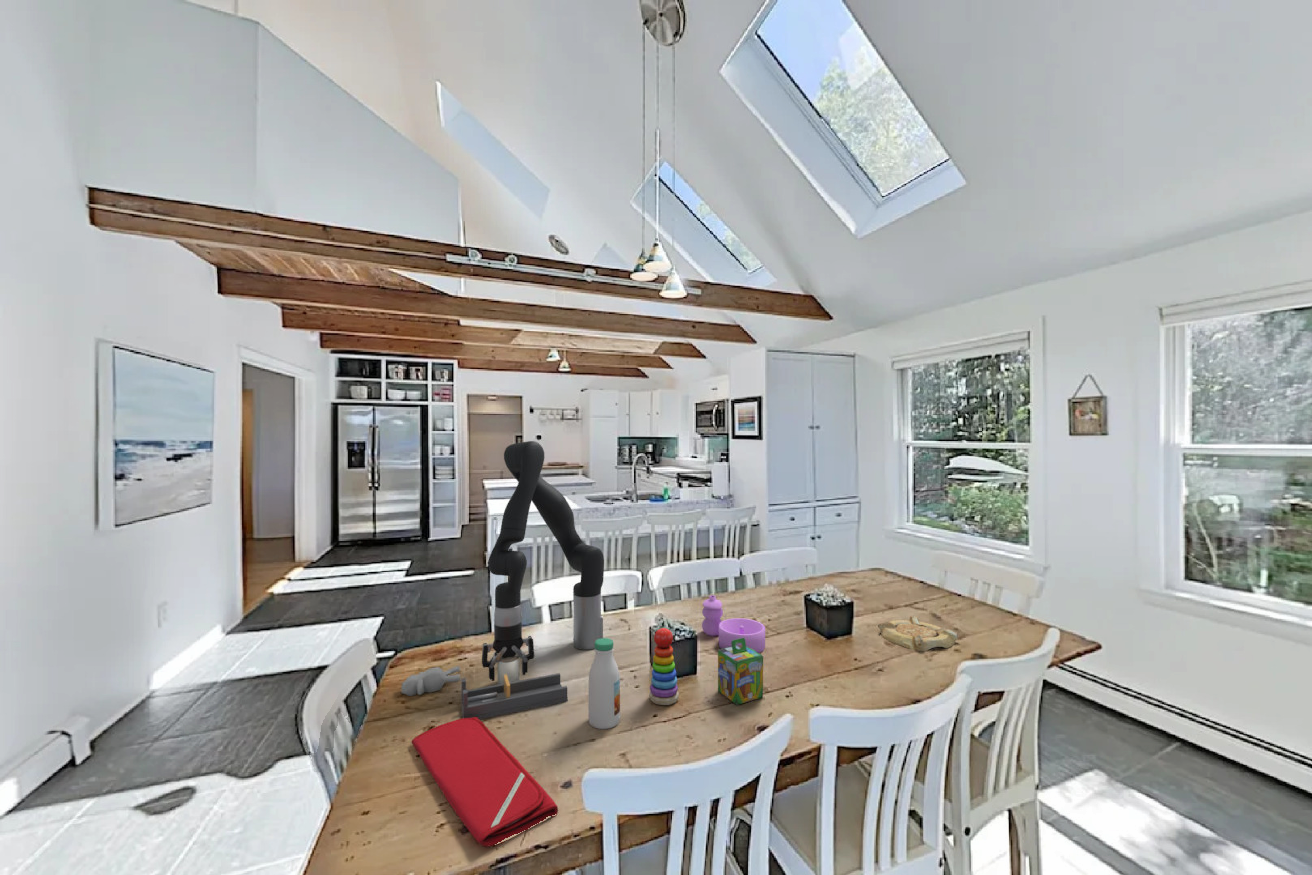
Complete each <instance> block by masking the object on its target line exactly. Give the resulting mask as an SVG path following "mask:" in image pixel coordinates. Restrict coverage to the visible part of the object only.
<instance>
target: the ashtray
mask: <svg viewBox="0 0 1312 875" xmlns="http://www.w3.org/2000/svg"><path fill="white" fill-rule="evenodd" d="M877 627H878V628H879V632H880V636H881V637H882V638H883V639H884V640H886V641H888V642H890V643H893V644H895V645H899V646H902V647H903V648H905V649H909V650H913V651H917V652H925V651H928V650H930V649H933V648H937V647H939V648H941V647H942V648H945V649H949V648H951V647H952V646H954V645H955V643H956V641H957V639H958V632H957V631H954V630H952V629H950V628H947V627H940V626H938V625H934V624H932V623H927V622H924V621H920V620H919V618H918V617H917V616H915V615H911V616H910V617H909V620H907V619H898V620H897V619H896V620H891V621H886V622H883V623H879V624H877Z"/></svg>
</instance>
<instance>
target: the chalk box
mask: <svg viewBox="0 0 1312 875" xmlns="http://www.w3.org/2000/svg"><path fill="white" fill-rule="evenodd" d="M737 643H741V644H742V645H737V646H736V644H737ZM731 644H732V647H728V648H723V649H721V648H720V649H718V650H717V691H718V692H719V693H720V694H722V695H723V696H724V697H726V698H727V699H728V700H730V702H732V703H734V704H735V705H736V706H738V705H741V704H745V703H748V702H751V701H755V700H758V699H759V700H760V699H763V697H764V656H763V654H760V653H757V652H756V651H755V650H753V649H751V648H748V647H746V643H745V638H740V639H736V640H732V642H731Z"/></svg>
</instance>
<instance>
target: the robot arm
mask: <svg viewBox="0 0 1312 875" xmlns="http://www.w3.org/2000/svg"><path fill="white" fill-rule="evenodd" d="M503 460H504V464H505V466H506V468H507V469H508V471H509V472H510V473H511V475H512V476H513V477H514V478H515V479H516V481H517V482H518V483H517V485H516V487H515V490H514V492H513V494H512V495H511V497H510V499H509V500H508V502H507V504H506V506H505V509H504V512H503V515H502V520H501V525H500V529H499V530H500V531H499V535H498V537H497V540H496V541H495V544H494V545H493V546H494V547H493V548H492V549H491V551H490V554H489V557H488V563H487V566H488V570H489V571H490V573H491V574H492V575H493V576H494V575H495V576H506V577H509V580H508V581H506V582H502V583H499V584H497V585H496V587H495V590H494V603H495V604H494V614H493V621H494V622H493V623H494V624H493V626H494V628H493V629H494V630H493V631H494V632H493V633H494V634H493V635H494V640H493V642H492V643H487V642H483V643H482V649H481V650H482V651H481V653H482V654H481V664H482V667H483V668H487V669H488V677H489V680H491V682H495V681H496V680H495V678H496V677H495V674H496V671H495V666H496V664H497V662H498V661H499V659H500V658H501V657H503V658H506V657H513V656H514V655H516V654H517V655H518V656H519V659H521V675H522V676H526V674H527V673H528V671H529V665H528V664H529V661H531V660H534V659H535V649H534V638H533V637H532V635H528V636H527V637H526V638H525V637H524V638H523V633H522V632H523V631H522V630H523V627H522V625H523V624H522V623H523V614H522V606H521V605H522V603H521V600H522V599H521V598H522V597H521V595H522V594H521V591H522V590H521V589H522V586H523V581H524V576H525V573H526V570H527V566H528V562H527V561H528V560H527V557H526V554H525V553H523V551H519V550H509V549H510V547H511V546H512V545H514V544H518V543H522V542H523V541H524V539H525V536H526V530H527V524H528V518H529V512H530V509H531V504H532V503H533V505H534V507H535V508H536V509H537V511H538V513H539V515H540V516H541V518H542V520H543V521H544V523H545V524H546V526H547V527H548V529H549V530H550V531H551V533H552V535H553V537H554V538H555V539H556V541H557V543H558V544H559V546H560V548H561V550H562V552H563V554H564V556H565V558H566V561H567V564H569V566H570V567H571V568H572V569H573V570H574V571H576V572H578V573H581V574H580V582H577V583H575V584H574V585H573V588H572V590H573V592H572V597H573V598H572V600H573V601H572V602H573V606H572V607H573V609H572V610H573V611H572V612H573V615H572V616H573V620H572V621H573V622H572V624H573V629H572V630H573V632H572V633H573V647H574V648H576V649H579V650H592V649H593V650H595V641H596V640H598V639H601V638H604V616H603V615H602V587H603V584H604V576H605V574H604V572H605V556H604V553H603V551H602V550H601V549H600V548H598V547H597V546H593V545H588V544H586V543H585V542H584V541H583V540H582V538H581V537H580V535H579V534H578V532H577V530H576V527H575V515H574V511H573V510H572V507H571V506H570V504H569V503H568V501H567V499H566V498H565V496H564V494H562V492H560V491H559V490H558V489H557V488H556V487H554V486H553V485H551V484H550V483H549V482H547V481H546V480H545V479H543V477H542V476H541V472H542V470H543V466H544V463H545V451H544V448H543V446H542V444H540V442H538V441H534V440H527V441H523V442H515V443H513V444H509V445H508V446H507V447H506V448H505V450H504V452H503ZM524 645H526V646H527V650H528V654H526V653H525V652H523V650H522V649H521V648H522V647H523V646H524ZM492 649H493V651H494V652H493V654H492V656H491V658H490V660H488V657H489V656H488V655H489V654H488V653H490V652H491V650H492Z"/></svg>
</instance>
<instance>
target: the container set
mask: <svg viewBox="0 0 1312 875" xmlns="http://www.w3.org/2000/svg"><path fill="white" fill-rule="evenodd" d="M716 597H717V596H716V595H714V594H712V595H709V598H708V599H705V600H704V601H703V602H702V606H703V608H702V612H701V613H702V616H703V618H704V619H703V620H702V624H701V627H702V630H703V632H704V634H706V635H708V636H710V637H711V636H712V637H715V636H718V647H719V648H720V649H723V648H728V647H732V644H731V642H732V640H736V639H740V638H745V643H746V647H748V648H751V649H753V650H755V651H756V652H757V653H759V654H760V653H761V652H764V650H765V649H766V626H765V625H764V624H763V623H761V622H759V621H758V620H754V619H751V618H750V619H749V618H740V617H738V618H737V617H736V618H728V619H724V620H721V618H722V616H723V615H724V611H723V609H722V606H723V603H722V601H721V600H719V599H717V598H716ZM737 645H742V644H741V643H737V644H736V646H737Z"/></svg>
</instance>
